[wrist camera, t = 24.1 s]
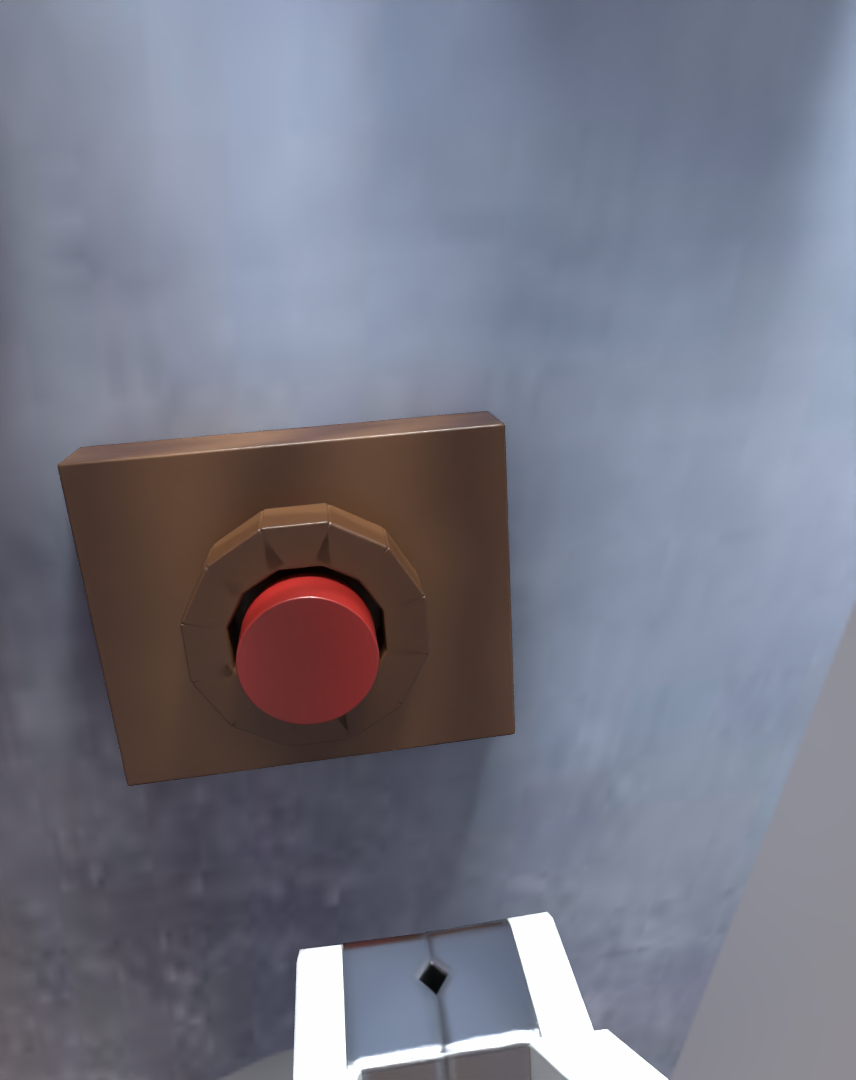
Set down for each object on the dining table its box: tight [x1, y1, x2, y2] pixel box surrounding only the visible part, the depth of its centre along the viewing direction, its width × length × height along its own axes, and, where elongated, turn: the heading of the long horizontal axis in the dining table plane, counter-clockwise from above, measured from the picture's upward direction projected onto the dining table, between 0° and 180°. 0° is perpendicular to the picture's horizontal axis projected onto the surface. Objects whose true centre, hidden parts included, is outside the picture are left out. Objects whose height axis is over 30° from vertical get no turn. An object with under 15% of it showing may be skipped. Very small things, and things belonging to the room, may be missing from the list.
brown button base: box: [58, 411, 515, 786], centre depth 23 cm, size 12×10×4 cm
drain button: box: [236, 573, 379, 725], centre depth 21 cm, size 4×4×2 cm
